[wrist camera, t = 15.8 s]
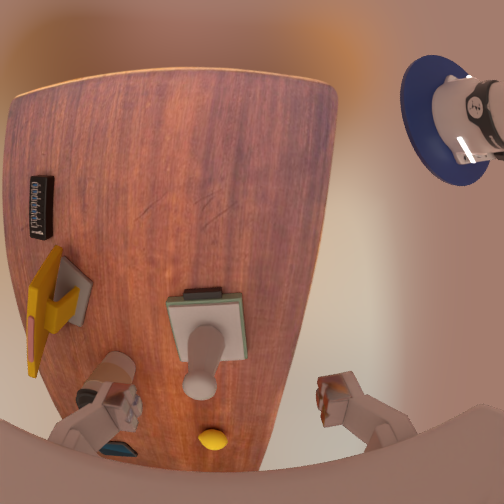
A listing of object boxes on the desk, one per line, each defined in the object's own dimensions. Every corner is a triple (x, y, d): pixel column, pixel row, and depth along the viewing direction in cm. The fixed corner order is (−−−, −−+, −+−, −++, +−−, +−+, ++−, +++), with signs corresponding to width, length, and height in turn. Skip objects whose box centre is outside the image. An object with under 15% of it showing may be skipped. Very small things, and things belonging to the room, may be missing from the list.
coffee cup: (149, 371, 48) (129, 427, 34) (123, 385, 49) (101, 436, 35) (117, 340, 45) (86, 392, 31) (93, 356, 47) (63, 404, 32)
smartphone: (139, 455, 59) (138, 457, 58) (104, 453, 60) (103, 455, 59) (124, 441, 56) (123, 444, 55) (89, 440, 57) (88, 442, 56)
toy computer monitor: (66, 238, 39) (8, 270, 24) (100, 260, 41) (47, 302, 26) (51, 321, 44) (10, 363, 29) (80, 340, 46) (44, 389, 30)
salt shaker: (219, 353, 43) (214, 411, 31) (186, 343, 43) (171, 399, 30) (230, 326, 42) (227, 384, 29) (195, 315, 41) (180, 370, 29)
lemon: (230, 428, 54) (230, 445, 49) (225, 438, 55) (224, 455, 50) (201, 422, 53) (199, 440, 48) (197, 433, 54) (195, 450, 49)
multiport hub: (54, 175, 36) (46, 177, 34) (52, 237, 39) (45, 240, 37) (38, 175, 36) (30, 176, 33) (36, 234, 39) (29, 237, 36)
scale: (240, 285, 43) (240, 293, 40) (247, 351, 47) (247, 361, 44) (167, 290, 43) (162, 297, 40) (182, 354, 47) (179, 364, 44)
